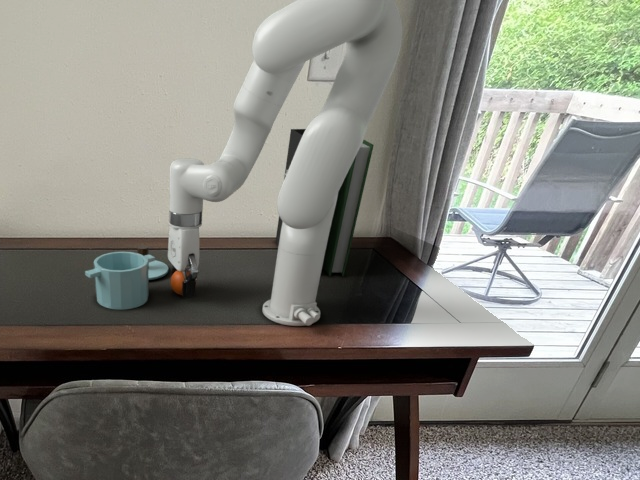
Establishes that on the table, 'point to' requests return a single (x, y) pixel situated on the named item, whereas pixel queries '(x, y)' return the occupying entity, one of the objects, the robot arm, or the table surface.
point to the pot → (121, 279)
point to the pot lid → (153, 264)
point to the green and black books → (339, 205)
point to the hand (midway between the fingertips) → (183, 289)
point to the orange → (178, 281)
